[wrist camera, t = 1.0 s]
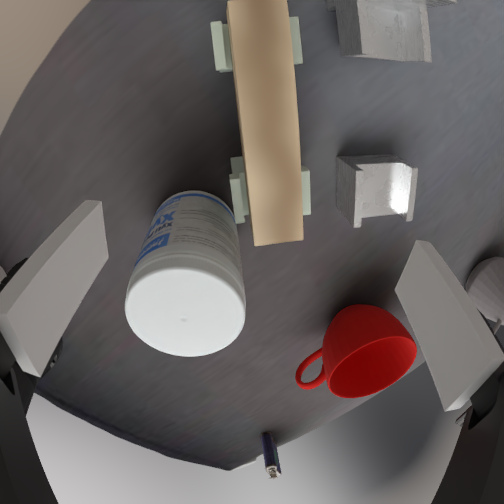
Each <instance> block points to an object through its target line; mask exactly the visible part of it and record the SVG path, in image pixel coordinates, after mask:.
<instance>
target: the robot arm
mask: <svg viewBox="0 0 504 504" xmlns="http://www.w3.org/2000/svg"><path fill="white" fill-rule="evenodd" d="M108 258H109V256H108V250H107V243H106V235H105V227H104V219H103V209H102V201H94V200H85V201H84V202H83V203H82V204H81V205H80V206H79V207H78V208H77V209H76V210H75V211H74V212H73V213H72V214H71V215H70V216H69V217H68V218H67V219H66V220H65V221H64V222H63V223H62V224H61V225H60V226H59V227H58V228H57V229H56V230H55V231H54V232H53V233H52V234H51V235H50V236H49V237H48V238H47V239H46V240H45V241H44V242H43V243H42V244H41V246H40V247H39V248H38V249H37V250H36V251H35V252H34V253H33V254H32V255H31V257H30V258H25V259H24V260H22V261H21V262H19V263H18V264H16V265H15V266H14V267H13V268H12V269H11V270H10V272H9V273H8V274H7V277H4V279H3V280H2V281H1V284H0V504H58V502H57V500H56V497H55V495H54V493H53V491H52V489H51V486H50V484H49V482H48V479H47V477H46V475H45V472H44V470H43V467H42V465H41V462H40V459H39V456H38V454H37V451H36V448H35V445H34V442H33V439H32V437H31V433H30V430H29V427H28V423H27V420H26V414H27V411H28V408H29V405H30V402H31V399H32V396H33V393H34V391H35V388H36V386H37V383H38V382H39V381H40V379H41V378H42V377H43V376H44V375H45V374H46V373H47V372H48V371H49V370H50V368H51V367H53V366H54V365H55V363H56V362H57V360H58V358H59V355H60V353H61V350H62V340H61V336H62V335H63V333H64V331H65V329H66V327H67V326H68V324H69V322H70V320H71V318H72V317H73V315H74V313H75V311H76V310H77V308H78V306H79V305H80V303H81V301H82V300H83V298H84V296H85V295H86V293H87V291H88V290H89V288H90V286H91V285H92V283H93V281H94V280H95V278H96V277H97V275H98V273H99V272H100V270H101V269H102V267H103V266H104V264H105V263H106V261H107V260H108ZM395 292H396V294H397V296H398V298H399V300H400V303H401V305H402V307H403V309H404V311H405V313H406V316H407V318H408V320H409V322H410V324H411V327H412V329H413V331H414V334H415V336H416V338H417V340H418V343H419V345H420V348H421V350H422V352H423V355H424V357H425V360H426V362H427V365H428V367H429V370H430V372H431V375H432V378H433V380H434V383H435V385H436V388H437V391H438V393H439V396H440V399H441V402H442V405H443V408H444V411H449V410H453V409H459V408H461V407H462V406H463V405H464V404H465V403H466V402H467V401H468V400H469V399H471V402H472V406H470V407H469V408H468V409H467V410H466V411H465V412H464V413H463V414H462V415H461V416H460V417H459V418H458V419H457V420H456V422H455V423H456V424H458V423H459V422H460V421H461V420H462V419H464V422H463V423H462V424H461V425H460V426H461V427H462V429H461V432H460V435H459V438H458V441H457V444H456V446H455V449H454V452H453V455H452V457H451V460H450V462H449V465H448V467H447V470H446V472H445V475H444V477H443V479H442V482H441V484H440V486H439V489H438V491H437V493H436V495H435V497H434V499H433V501H432V503H431V504H504V348H503V347H502V345H501V343H500V341H499V340H498V338H497V336H496V335H494V331H493V329H492V328H491V327H490V324H489V323H488V321H487V320H486V318H485V316H484V315H483V314H482V313H481V312H480V311H479V310H478V309H477V308H476V306H475V305H474V303H473V302H472V300H471V299H470V297H469V296H468V294H467V293H466V291H465V290H464V288H463V287H462V285H461V284H460V282H459V281H458V280H457V278H456V277H455V275H454V274H453V273H452V271H451V270H450V268H449V267H448V266H447V264H446V263H445V261H444V260H443V259H442V257H441V256H440V255H439V253H438V252H437V251H436V249H435V248H434V247H433V246H432V244H431V243H430V242H426V241H420V240H416V242H415V244H414V247H413V249H412V251H411V254H410V256H409V259H408V261H407V263H406V265H405V268H404V270H403V272H402V274H401V277H400V279H399V281H398V283H397V285H396V288H395Z"/></svg>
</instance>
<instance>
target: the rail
mask: <svg viewBox="0 0 504 504" xmlns="http://www.w3.org/2000/svg"><path fill="white" fill-rule="evenodd" d="M226 15H227V24H228V32H229V41H230V50H231V59H232V68H233V76H234V85H235V94H236V103H237V112H238V121H239V130H240V138H241V147H242V156H243V165H244V174H245V183H246V192H247V201H248V210H249V218H250V226H251V231H252V235H253V240H254V245H255V246H260V245H267V244H275V243H282V242H290V241H297V240H303V207H302V180H301V158H300V140H299V123H298V109H297V95H296V83H295V71H294V60H293V50H292V40H291V31H290V22H289V13H288V5H287V0H232V1H228V2H227V11H226Z"/></svg>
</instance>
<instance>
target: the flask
mask: <svg viewBox="0 0 504 504" xmlns="http://www.w3.org/2000/svg"><path fill="white" fill-rule="evenodd" d="M260 437H261V441H262V448H263V453H264V460H265V467H266V471H267V473H268V474H270V476H271V478H269V479H272V478H278V477H277V476H279V475H281V470H280V464H279V459H278V453H277V445H276V442H274V439H273V438H272V436H271V433H270V432H264V433H261V435H260Z"/></svg>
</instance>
